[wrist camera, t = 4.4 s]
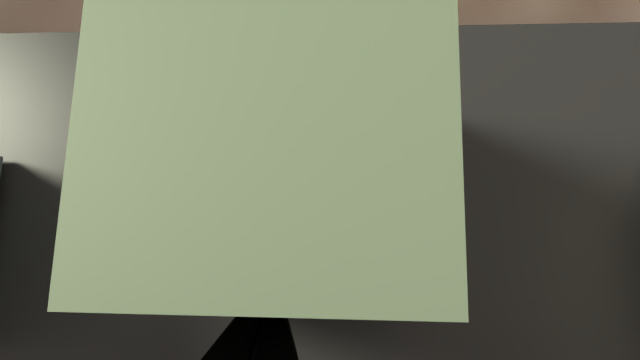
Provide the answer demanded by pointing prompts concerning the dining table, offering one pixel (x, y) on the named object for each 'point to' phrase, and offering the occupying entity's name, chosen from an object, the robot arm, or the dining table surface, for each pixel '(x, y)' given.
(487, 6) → the dining table surface
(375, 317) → the light green rectangular block
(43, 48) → the keypad base
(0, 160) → the slate key
